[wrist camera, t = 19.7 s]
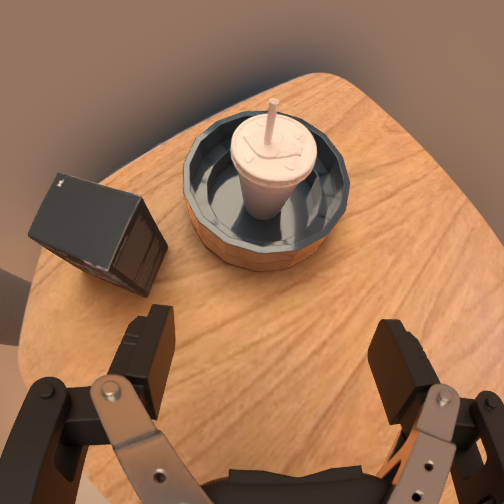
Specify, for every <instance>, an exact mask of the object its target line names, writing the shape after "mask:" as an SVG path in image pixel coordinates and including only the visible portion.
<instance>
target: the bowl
mask: <svg viewBox="0 0 504 504" xmlns="http://www.w3.org/2000/svg"><path fill="white" fill-rule="evenodd" d="M261 114H268V111H245V112H241V113H238V114H235V115H232V116H230V117H227V118H224V119H221V120H219V121H217V122H215V123H214V124H213V125H211V126H210V127H209V128H208V129H207V130H206V131H204V132H203V133H202V134H201V135H200V136H199V137H197V138H196V139H195V141H194V143H193V145H192V147H191V149H190V151H189V153H188V155H187V157H186V160H185V162H184V164H183V193H184V197H185V200H186V204H187V208H188V211H189V214H190V218H191V221H192V223H193V225H194V227H195V229H196V231H197V232H198V234H199V236H200V238H201V240H202V242H203V244H204V245H205V246H207V247H208V248H209V249H210V250H211V251H213V252H214V253H215V254H216V255H218V256H219V257H220V258H221V259H223V260H224V261H225V262H227V263H229V264H233V265H236V266H239V267H243V268H246V269H249V270H253V271H268V270H279V269H287V268H289V267H291V266H293V265H295V264H297V263H299V262H300V261H302V260H304V259H306V258H308V257H310V256H312V255H313V253H314V252H315V251H316V250H317V248H318V247H319V246H320V245H321V243H322V242H323V241H324V239H325V238H326V237H327V236H328V234H329V233H330V232H331V230H332V229H333V227H334V226H335V225H336V223H337V222H338V221H339V219H340V218H341V217H342V215H343V214H344V213H345V211H346V206H347V200H348V194H349V188H350V181H349V177H348V174H347V170H346V167H345V163H344V160H343V157H342V155H341V154H340V153H339V151H338V150H337V149H336V147H335V146H334V145H333V143H332V142H331V141H330V140H329V138H328V137H327V136H326V135H325V134H324V133H323V132H321V131H320V130H318V129H317V128H315V127H314V126H312V125H310V124H309V123H307V122H306V121H304V120H303V119H301V118H298V117H294V116H290V115H287V114H283V113H280V112H277V114H279V115H284V116H287V117H290V118H292V119H294V120H296V121H298V122H299V123H301V124H302V125H304V126H305V127H306V128H307V129H308V130H309V132H310V133H311V134H312V136H313V138H314V140H315V143H316V147H317V156H316V160H315V164H314V167H313V169H312V172H311V173H310V174H309V175H308V176H307V177H306V179H304V180H303V181H301V182H299V183H298V185H297V186H296V188H295V189H294V191H293V192H292V194H291V195H290V197H289V198H288V200H287V201H286V203H285V204H284V206H283V207H282V209H281V210H280V212H279V213H278V214H277V215H276V216H275V217H274V218H272V219H269V220H259V219H256V218H254V217H252V216H251V215H249V214H248V212H247V211H246V209H245V206H244V201H243V196H242V190H241V185H240V180H239V175H238V170H237V169H236V168H235V166H234V163H233V161H232V159H231V151H230V148H231V140H232V136H233V134H234V132H235V130H236V129H237V127H238V126H239V125H240V124H241V123H242V122H244V121H245V120H247V119H249V118H251V117H253V116H256V115H261Z"/></svg>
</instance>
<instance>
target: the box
mask: <svg viewBox="0 0 504 504" xmlns="http://www.w3.org/2000/svg"><path fill="white" fill-rule="evenodd" d="M28 236H29V237H30V238H31V239H33V240H34V241H36V242H37V243H39V244H40V245H42V246H43V247H45V248H46V249H48V250H49V251H51V252H52V253H54V254H56V255H57V256H59V257H60V258H62V259H64V260H65V261H67V262H69V263H70V264H72V265H74V266H75V267H77V268H78V269H80V270H82V271H84V272H86V273H89V274H91V275H93V276H96V277H98V278H100V279H103V280H105V281H108V282H110V283H112V284H114V285H117V286H120V287H122V288H124V289H127V290H129V291H131V292H134V293H136V294H139V295H141V296H143V297H147V296H148V294H149V291H150V288H151V286H152V283H153V281H154V278H155V276H156V273H157V271H158V268H159V266H160V264H161V261H162V259H163V256H164V254H165V252H166V249H167V246H168V245H167V243H166V241H165V240H164V238H163V236H162V234H161V232H160V231H159V229H158V227H157V225H156V223H155V221H154V220H153V218H152V216H151V214H150V212H149V210H148V208H147V206H146V204H145V202H144V200H143V198H142V197H141V195H138V194H133V193H129V192H125V191H121V190H117V189H114V188H111V187H107V186H103V185H100V184H97V183H93V182H90V181H86V180H83V179H80V178H77V177H73V176H70V175H67V174H65V173H57V175H56V178H55V179H54V181H53V183H52V185H51V187H50V189H49V191H48V193H47V194H46V196H45V198H44V200H43V202H42V204H41V206H40V208H39V210H38V212H37V214H36V216H35V218H34V221H33V223H32V225H31V228H30V230H29V232H28Z"/></svg>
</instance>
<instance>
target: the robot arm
mask: <svg viewBox="0 0 504 504" xmlns="http://www.w3.org/2000/svg"><path fill="white" fill-rule="evenodd" d="M174 350H175V325H174V311H173V306H166V305H157V304H153V305H152V307H151V309H150V311H149V314H148V316H147V317H144V316H138V317H137V318H135V319H134V320H133V321H132V322H131V323H130V324H129V325H128V328H127V330H126V332H125V336H123V339H122V341H121V344H120V345H119V348H118V350H117V352H116V354H115V357H114V359H113V361H112V364H111V366H110V368H109V371H108V373H107V375H104V376H102V377H100V378H98V379H97V380H96V381H95V382H94V383H93V384H92V386H88V387H75V388H66V386H65V385H64V383H63V382H62V381H61V380H60V379H58V378H55V377H44V378H41V379H39V380H37V381H36V382H35V383H33V385H32V386H31V388H30V389H29V392H28V394H27V396H26V398H25V400H24V402H23V405H22V407H21V409H20V411H19V413H18V416H17V418H16V420H15V423H14V425H13V428H12V430H11V432H10V435H9V437H8V440H7V442H6V445H5V448H4V450H3V453H2V455H1V458H0V504H75V501H76V496H77V492H78V487H79V483H80V479H81V474H82V470H83V466H84V462H85V458H86V454H87V450H88V447H89V445H106V444H111V445H112V447H113V450H114V452H115V454H116V456H117V458H118V460H119V462H120V464H121V466H122V468H123V470H124V472H125V474H126V476H127V477H128V479H129V481H130V483H131V485H132V486H133V488H134V490H135V492H136V493H137V495H138V497H139V498H140V500H141V502H142V503H143V504H438V503H439V501H440V498H441V495H442V492H443V489H444V487H445V484H446V481H447V478H448V474H449V471H450V472H451V475H452V479H453V483H454V486H455V490H456V494H457V498H458V502H459V504H504V404H503V402H502V400H501V399H500V398H499V396H498V395H496V394H495V393H493V392H491V391H482V392H480V393H479V394H478V396H477V397H476V398H475V400H474V399H467V398H460V397H459V395H458V393H457V392H456V391H455V390H454V389H453V388H452V387H450V386H448V385H446V384H441V383H440V381H439V379H438V377H437V375H436V373H435V371H434V369H433V367H432V365H431V363H430V361H429V359H428V358H427V356H426V354H425V352H424V351H423V348H422V346H421V345H420V343H419V341H418V339H417V338H415V337H414V336H413V335H412V334H411V333H410V332H406V330H405V328H404V326H403V324H402V323H401V321H400V320H398V319H382V320H380V322H379V324H378V326H377V329H376V331H375V334H374V336H373V339H372V341H371V343H370V346H369V349H368V362H369V365H370V368H371V371H372V374H373V377H374V379H375V382H376V385H377V388H378V391H379V394H380V397H381V400H382V403H383V406H384V409H385V412H386V415H387V418H388V421H389V424H390V425H394V424H401V427H402V428H401V429H400V431H399V432H398V434H397V437H396V439H395V441H394V443H393V445H392V448H391V450H390V452H389V454H388V456H387V458H386V460H385V462H384V464H383V466H382V467H381V469H380V470H379V472H378V473H377V475H376V476H373V475H369V474H365V473H363V472H362V468H361V465H359V466H351V467H341V468H331V469H328V470H324V471H321V472H318V473H315V474H311V475H308V476H304V477H299V478H297V477H291V476H286V475H281V474H276V473H272V472H267V471H257V470H234V469H229V476H228V477H224V478H219V479H215V480H212V481H209V482H206V483H204V484H202V485H199V484H198V483H197V481H196V480H195V479H194V477H193V476H192V475H191V473H190V472H189V470H188V469H187V468H186V466H185V465H184V463H183V462H182V460H181V459H180V458H179V456H178V455H177V453H176V452H175V450H174V449H173V447H172V446H171V444H170V443H169V441H168V440H167V438H166V437H165V435H164V434H163V432H162V431H160V430H158V429H157V428H156V426H155V425H154V423H153V421H152V420H151V419H153V420H157V419H158V414H159V410H160V406H161V402H162V398H163V394H164V390H165V386H166V382H167V378H168V374H169V370H170V366H171V362H172V358H173V354H174ZM480 438H481V440H482V443H483V445H484V448H485V451H486V454H487V461H486V463H485V465H484V464H483V461H482V458H481V455H480V452H479V450H478V447H477V444H476V442H477V441H478V440H479V439H480Z"/></svg>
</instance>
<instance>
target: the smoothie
mask: <svg viewBox="0 0 504 504" xmlns="http://www.w3.org/2000/svg"><path fill="white" fill-rule="evenodd" d="M278 103H279V101H278V100H277V99H275V98H272V99H270V103H269V109H268V114H261V115H256V116H253V117H251V118H249V119H247V120H245V121H244V122H242V123H241V124H240V125H239V126H238V127H237V129H236V130H235V132H234V134H233V136H232V140H231V148H230V151H231V159H232V161H233V163H234V166H235V168H236V169H237V170H238V175H239V180H240V185H241V190H242V196H243V201H244V206H245V209H246V211H247V212H248V214H249V215H251V216H252V217H254V218H256V219H259V220H269V219H272V218H274V217H275V216H276V215H277V214H278V213H279V212H280V210H281V209H282V207H283V206H284V204H285V203H286V201H287V200H288V198H289V197H290V195H291V194H292V192H293V191H294V189H295V188H296V186H297V185H298V183H299V182H301V181H303V180H304V179H306V177H307V176H308V175H309V174H310V173H311V172H312V169H313V167H314V164H315V160H316V156H317V147H316V143H315V140H314V138H313V136H312V134H311V133H310V132H309V130H308V129H307V128H306V127H305V126H304V125H302V124H301V123H299V122H298V121H296V120H294V119H292V118H290V117H287V116H284V115H279V114H277V109H278Z"/></svg>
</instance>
